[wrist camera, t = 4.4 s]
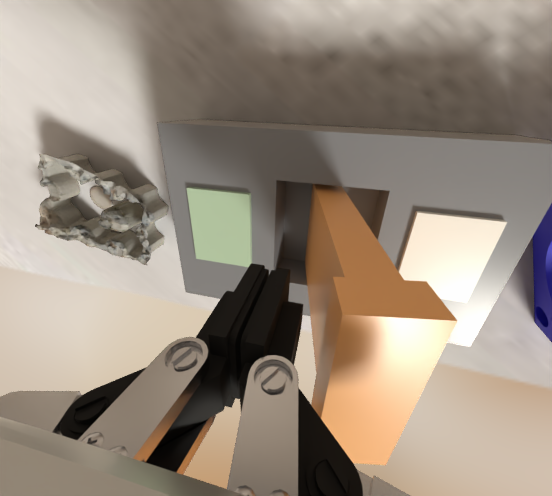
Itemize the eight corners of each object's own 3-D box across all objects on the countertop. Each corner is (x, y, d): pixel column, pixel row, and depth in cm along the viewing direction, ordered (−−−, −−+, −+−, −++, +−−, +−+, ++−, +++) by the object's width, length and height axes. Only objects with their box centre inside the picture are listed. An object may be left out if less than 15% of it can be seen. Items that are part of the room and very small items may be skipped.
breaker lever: (345, 178, 16) (457, 320, 5) (331, 265, 19) (385, 464, 9) (306, 177, 16) (342, 314, 5) (299, 263, 19) (312, 460, 9)
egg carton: (71, 211, 27) (29, 227, 23) (68, 139, 23) (16, 145, 19) (163, 258, 26) (135, 281, 23) (176, 193, 22) (144, 209, 19)
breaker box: (516, 135, 15) (589, 146, 10) (444, 297, 21) (472, 350, 16) (200, 119, 19) (153, 122, 14) (213, 260, 25) (183, 294, 20)
